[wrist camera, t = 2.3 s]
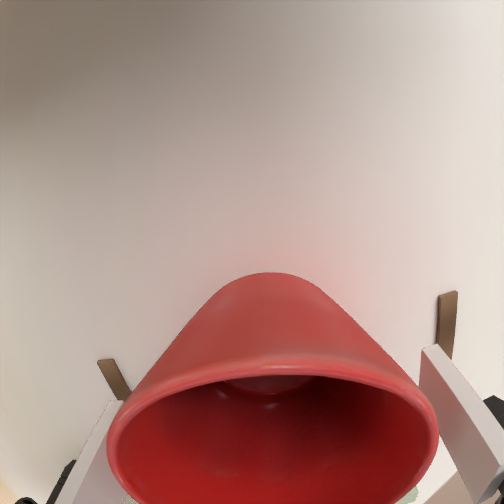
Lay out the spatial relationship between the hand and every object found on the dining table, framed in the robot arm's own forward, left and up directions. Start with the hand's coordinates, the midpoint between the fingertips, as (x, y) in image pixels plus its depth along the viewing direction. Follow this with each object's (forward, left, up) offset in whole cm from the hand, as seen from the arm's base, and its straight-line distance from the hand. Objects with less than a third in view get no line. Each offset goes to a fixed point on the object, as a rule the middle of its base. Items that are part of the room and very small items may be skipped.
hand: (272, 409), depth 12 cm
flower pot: (0, 0, -5) cm, 5 cm away
